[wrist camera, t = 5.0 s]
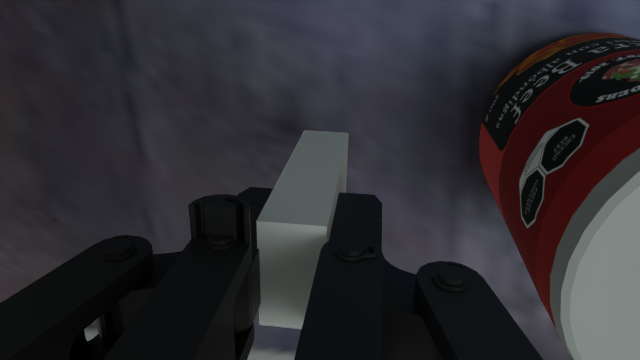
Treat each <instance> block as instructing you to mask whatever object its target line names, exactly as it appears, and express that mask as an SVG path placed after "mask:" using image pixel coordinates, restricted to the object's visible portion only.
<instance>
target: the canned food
mask: <svg viewBox="0 0 640 360" xmlns="http://www.w3.org/2000/svg"><path fill="white" fill-rule="evenodd" d="M479 155H480V162H481V165H482V169H483V173H484V176H485V178H486V180H487V182H488V185H489V187H490V189H491V191H492V193H493V196H494V198H495V200H496V202H497V204H498V206H499V209H500V211H501V213H502V215H503V217H504V220H505V222H506V224H507V226H508V228H509V231H510V233H511V235H512V237H513V239H514V241H515V244H516V246H517V248H518V250H519V252H520V255H521V257H522V259H523V261H524V263H525V266H526V268H527V270H528V272H529V274H530V277H531V279H532V281H533V283H534V285H535V287H536V290H537V292H538V294H539V296H540V298H541V301H542V303H543V304H544V306H545V308H546V310H547V312H548V314H549V316H550V318H551V320H552V322H553V324H554V326H555V328H556V330H557V332H558V334H559V336H560V338H561V340H562V342H563V344H564V345H565V347H566V349H567V351H568V353H569V354H570V355H571V356H572V357H573V358H574V360H640V40H638V39H634V38H630V37H626V36H622V35H618V34H614V33H588V34H582V35H576V36H570V37H568V38H565V39H562V40H559V41H556V42H554V43H551V44H549V45H547V46H545V47H543V48H542V49H540V50H538V51H536V52H535V53H533V54H531V55H529V56H528V57H527V58H525V59H524V60H523V61H522V62H521V63H519V64H518V65H517V66H516V67H515V68H513V69H512V70H511V71H510V72H509V74H508V75H507V76H506V77H505V78H504V80H503V81H502V82H501V83H500V84H499V86H498V87H497V89H496V91H495V93H494V94H493V96H492V98H491V99H490V101H489V103H488V106H487V109H486V111H485V114H484V117H483V120H482V123H481V129H480V136H479Z"/></svg>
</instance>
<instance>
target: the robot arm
mask: <svg viewBox="0 0 640 360" xmlns="http://www.w3.org/2000/svg"><path fill="white" fill-rule="evenodd" d="M348 138H349V133H342V132H326V131H310V130H304V132H303V133H302V135H301V137H300V139H299V141H298V143H297V145H296V147H295V149H294V150H293V152H292V154H291V156H290V158H289V160H288V162H287V164H286V166H285V168H284V169H283V171H282V173H281V175H280V177H279V179H278V181H277V183H276V185H275V187H274V188H273V189H270V188H257V187H250V188H248V189H246V190H245V191H243V192H241V193H240V194H238V196H234V195H228V194H220V195H211V196H205V197H202V198H199V199H197V200H195V201H193V202H192V203H191V204H189V216H190V227H191V238H192V239H191V240H190V242H189V243H188V244H187V246H186V247H185V248H184V250H183V251H181V252H174V253H165V254H154V255H153V252H152V245H151V244H150V242H149V241H148V240H147V239H144V238H142V237H138V236H130V235H123V236H122V235H121V236H115V237H113V238H109V239H105V240H103V241H101V242H99V243H97V244H94V245H93V246H91V247H89V248H88V249H86V250H85V251H83V252H81V253H80V254H78V255H77V256H75V257H73V258H72V259H70V260H69V261H67V262H65V263H64V264H62V265H61V266H59V267H57V268H56V269H54V270H53V271H51V272H49V273H48V274H46V275H45V276H43V277H41V278H40V279H38V280H37V281H35V282H33V283H32V284H30V285H29V286H27V287H25V288H24V289H22V290H21V291H19V292H17V293H16V294H14V295H13V296H11V297H9V298H8V299H6V300H5V301H3V302H1V303H0V360H247V358H248V355H249V352H250V350H251V347H252V344H253V341H254V319H255V316H256V313H257V311H258V308H259V325H267V326H277V327H286V328H296V329H302V330H301V334H300V338H299V342H298V346H297V351H296V355H295V359H294V360H543V359H542V357H541V356H540V355H539V353H538V352H537V351H536V349H535V348H534V347H533V345H532V344H531V342H530V341H529V340H528V338H527V337H526V336H525V334H524V333H523V332H522V330H521V329H520V327H519V326H518V325H517V323H516V322H515V321H514V319H513V318H512V317H511V315H510V314H509V312H508V311H507V310H506V308H505V307H504V306H503V304H502V303H501V302H500V300H499V299H498V297H497V296H496V295H495V293H494V292H493V291H492V289H491V288H490V286H489V285H488V284H487V282H486V281H485V280H484V278H483V277H482V276H480V275H479V274H478V273H477V272H476V271H475V270H473V269H471V268H469V267H467V266H465V265H462V264H459V263H455V262H444V261H438V262H432V263H427V264H426V265H424V266H422V267H420V269H419V270H418V272H417V274H412V273H409V272H406V271H403V270H400V269H398V268H396V267H394V266H393V265H391V264H390V263H389V262H388V261H386V260H385V258H384V257H383V254H382V250H381V247H382V203H381V202H380V201H379V199H378V198H377V197H376V196H375V195H369V194H355V193H346V177H347V157H348ZM95 320H96V322H97V327H98V332H99V334H98V335H97V336H95V337H94V338H93V339H91V340H90V341H88V342H87V340H86V338H85V333H84V329H85V328H86V327H87V326H89V325H90V324H91V323H92V322H94V321H95Z"/></svg>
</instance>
